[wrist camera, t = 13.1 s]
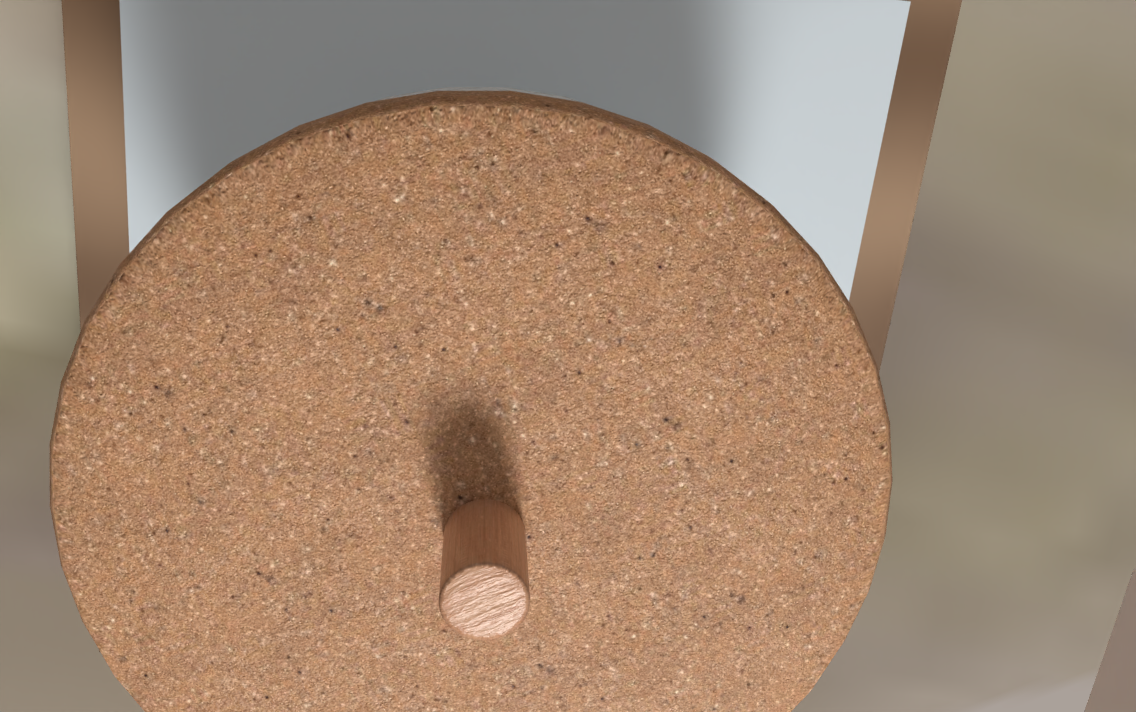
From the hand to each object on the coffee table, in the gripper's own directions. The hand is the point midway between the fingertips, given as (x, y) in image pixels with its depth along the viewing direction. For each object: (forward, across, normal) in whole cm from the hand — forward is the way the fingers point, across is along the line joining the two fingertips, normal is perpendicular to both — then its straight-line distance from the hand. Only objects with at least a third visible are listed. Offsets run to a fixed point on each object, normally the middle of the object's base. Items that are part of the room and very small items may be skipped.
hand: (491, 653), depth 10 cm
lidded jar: (+11, 0, 0) cm, 11 cm away
